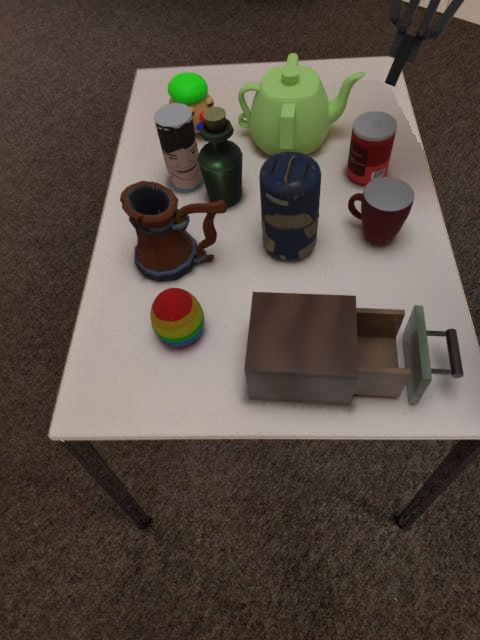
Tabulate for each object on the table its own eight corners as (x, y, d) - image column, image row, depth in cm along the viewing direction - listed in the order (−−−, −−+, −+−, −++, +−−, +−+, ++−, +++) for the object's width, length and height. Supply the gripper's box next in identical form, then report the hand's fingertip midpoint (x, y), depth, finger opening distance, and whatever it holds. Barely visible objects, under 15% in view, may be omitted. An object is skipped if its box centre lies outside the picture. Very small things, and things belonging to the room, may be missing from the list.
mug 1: (239, 238, 88) (231, 173, 76) (228, 289, 82) (218, 227, 70) (145, 231, 91) (123, 167, 78) (127, 280, 85) (100, 219, 72)
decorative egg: (206, 308, 80) (198, 271, 72) (207, 351, 76) (197, 316, 67) (158, 312, 81) (143, 275, 72) (155, 355, 76) (140, 321, 68)
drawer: (444, 335, 73) (460, 306, 67) (454, 406, 67) (473, 381, 61) (321, 330, 75) (325, 301, 69) (320, 397, 69) (324, 373, 63)
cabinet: (348, 331, 76) (356, 295, 68) (350, 405, 69) (358, 376, 61) (255, 326, 78) (252, 291, 70) (248, 399, 71) (244, 369, 63)
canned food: (391, 164, 96) (402, 115, 87) (379, 191, 92) (390, 142, 83) (353, 156, 98) (360, 107, 89) (340, 181, 94) (347, 133, 85)
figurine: (165, 128, 108) (153, 76, 98) (200, 110, 110) (192, 58, 100) (192, 153, 102) (182, 100, 92) (229, 133, 105) (223, 81, 95)
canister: (325, 235, 87) (334, 152, 72) (301, 272, 83) (305, 192, 68) (278, 218, 90) (277, 135, 75) (253, 253, 86) (246, 172, 71)
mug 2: (335, 240, 86) (340, 198, 78) (352, 210, 90) (359, 167, 81) (392, 259, 83) (405, 217, 75) (408, 228, 86) (421, 184, 78)
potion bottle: (223, 176, 98) (212, 93, 83) (254, 193, 94) (249, 109, 79) (196, 199, 95) (179, 117, 79) (227, 217, 91) (216, 135, 76)
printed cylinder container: (166, 191, 96) (149, 125, 84) (174, 169, 100) (158, 102, 87) (199, 193, 95) (187, 126, 83) (206, 170, 99) (195, 103, 86)
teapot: (229, 135, 105) (222, 70, 93) (299, 97, 110) (301, 31, 98) (285, 178, 96) (286, 113, 84) (358, 135, 102) (368, 67, 89)
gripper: (518, -87, 63) (431, 100, 74) (423, -114, 65) (352, 72, 76) (530, -112, 57) (432, 98, 67) (424, -141, 59) (345, 67, 70)
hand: (389, 84), depth 72 cm, fingers closed
